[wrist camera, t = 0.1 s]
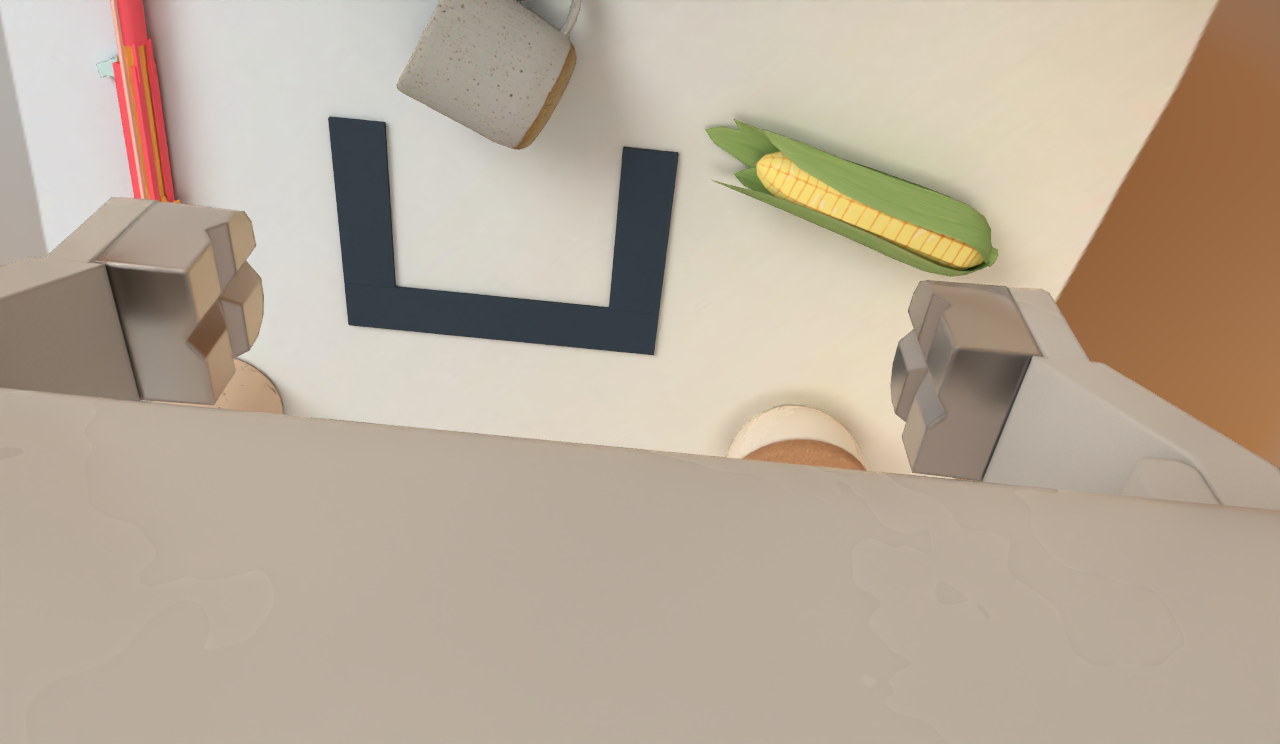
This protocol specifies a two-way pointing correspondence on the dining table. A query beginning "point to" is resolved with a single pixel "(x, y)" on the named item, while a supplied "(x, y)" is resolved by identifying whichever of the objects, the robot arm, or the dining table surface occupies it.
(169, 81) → the dining table surface
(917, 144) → the dining table surface
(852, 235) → the edible corn
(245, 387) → the teacup with lid
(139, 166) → the red striped bar
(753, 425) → the trinket box
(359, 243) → the dark grey flat piece
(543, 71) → the ceramic mug
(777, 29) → the dining table surface
